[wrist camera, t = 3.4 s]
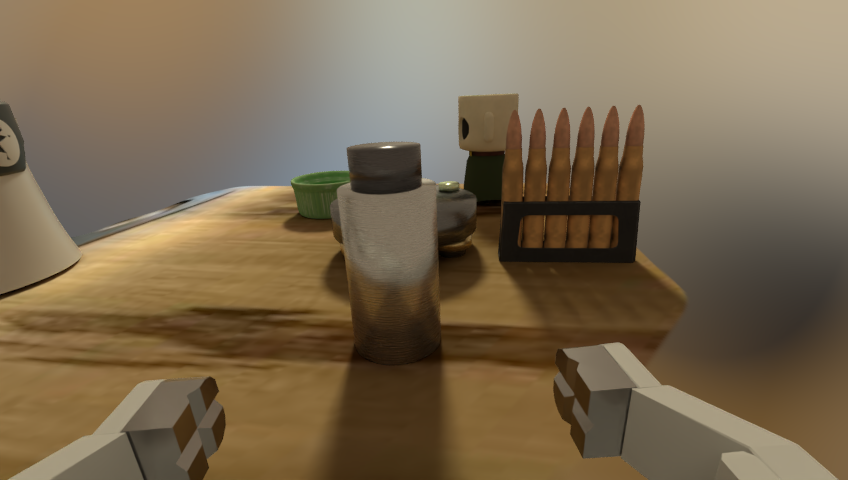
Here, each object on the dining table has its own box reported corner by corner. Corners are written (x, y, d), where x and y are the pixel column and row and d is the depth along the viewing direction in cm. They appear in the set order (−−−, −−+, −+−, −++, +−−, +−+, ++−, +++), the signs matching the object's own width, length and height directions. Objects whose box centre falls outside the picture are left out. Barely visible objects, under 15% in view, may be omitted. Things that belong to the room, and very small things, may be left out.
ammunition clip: (627, 254, 34) (648, 104, 30) (635, 263, 32) (658, 104, 28) (498, 253, 35) (501, 109, 31) (499, 261, 34) (502, 110, 29)
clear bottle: (350, 368, 21) (324, 155, 17) (358, 318, 26) (338, 143, 22) (446, 360, 21) (439, 149, 18) (436, 313, 26) (429, 138, 22)
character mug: (461, 191, 58) (460, 95, 53) (511, 191, 57) (514, 93, 53) (457, 212, 48) (455, 96, 43) (518, 212, 47) (523, 93, 42)
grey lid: (325, 281, 31) (316, 218, 29) (344, 229, 43) (338, 182, 42) (491, 269, 32) (492, 207, 30) (463, 221, 44) (463, 175, 42)
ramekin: (339, 224, 46) (335, 186, 44) (279, 217, 49) (273, 182, 48) (380, 204, 53) (377, 171, 52) (326, 200, 57) (322, 169, 55)
